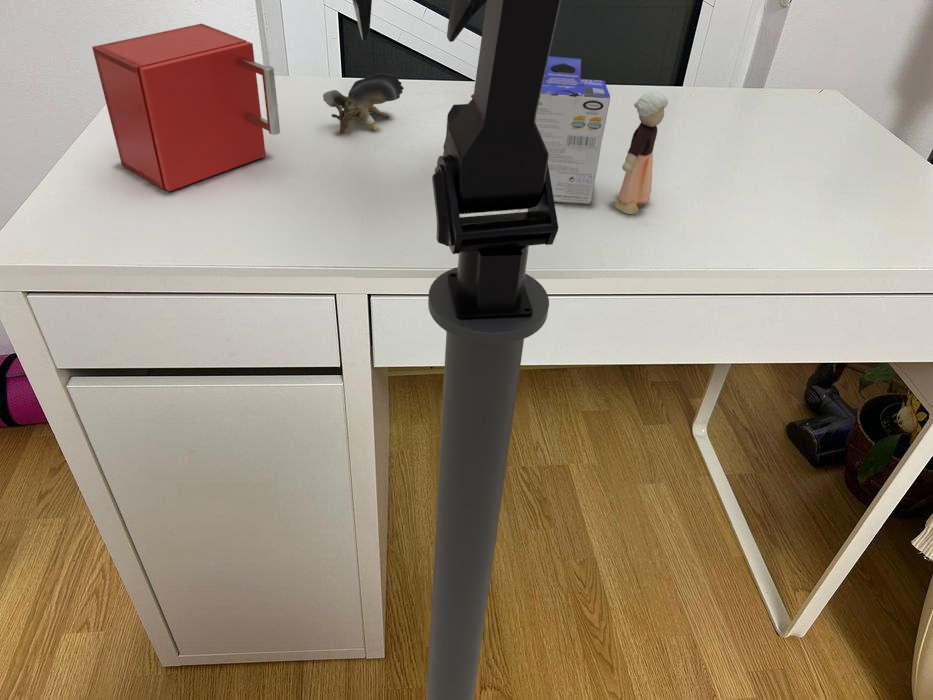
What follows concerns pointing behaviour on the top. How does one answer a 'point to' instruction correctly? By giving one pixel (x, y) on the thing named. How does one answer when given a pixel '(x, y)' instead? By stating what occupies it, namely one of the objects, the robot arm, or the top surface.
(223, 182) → the top surface
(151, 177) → the cabinet
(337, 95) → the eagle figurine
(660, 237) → the top surface
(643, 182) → the grandmother figurine
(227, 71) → the door
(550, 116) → the ink cartridge box
